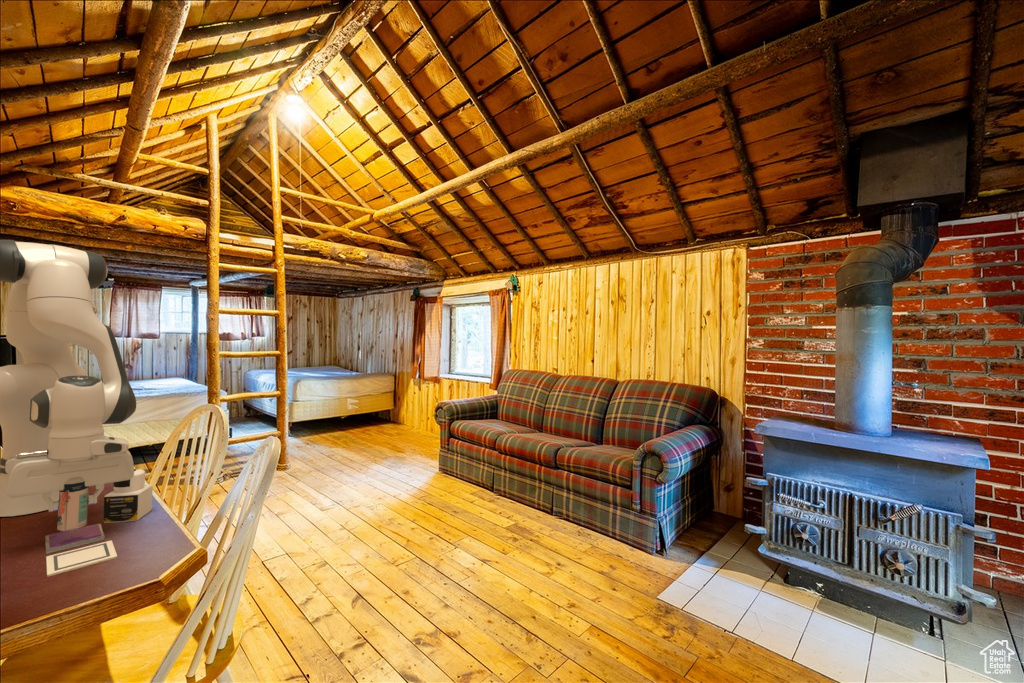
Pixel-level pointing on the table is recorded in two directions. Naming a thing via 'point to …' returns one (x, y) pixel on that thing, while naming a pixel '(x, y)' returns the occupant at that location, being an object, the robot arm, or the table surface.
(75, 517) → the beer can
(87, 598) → the table surface
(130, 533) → the table surface
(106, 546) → the marked card
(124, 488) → the medicine bottle
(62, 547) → the ink pad
